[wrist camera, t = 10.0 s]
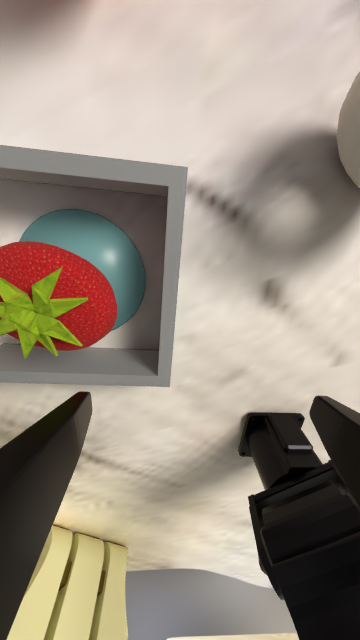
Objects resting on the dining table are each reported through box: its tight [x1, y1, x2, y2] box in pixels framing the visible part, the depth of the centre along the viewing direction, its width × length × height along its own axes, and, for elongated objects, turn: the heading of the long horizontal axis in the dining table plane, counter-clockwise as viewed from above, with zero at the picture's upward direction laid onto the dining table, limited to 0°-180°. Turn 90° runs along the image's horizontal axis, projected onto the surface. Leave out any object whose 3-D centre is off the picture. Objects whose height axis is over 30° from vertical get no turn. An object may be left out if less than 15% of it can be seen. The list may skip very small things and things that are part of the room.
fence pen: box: [0, 145, 188, 387], centre depth 16 cm, size 15×15×4 cm
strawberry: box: [0, 241, 117, 359], centre depth 13 cm, size 6×8×10 cm
